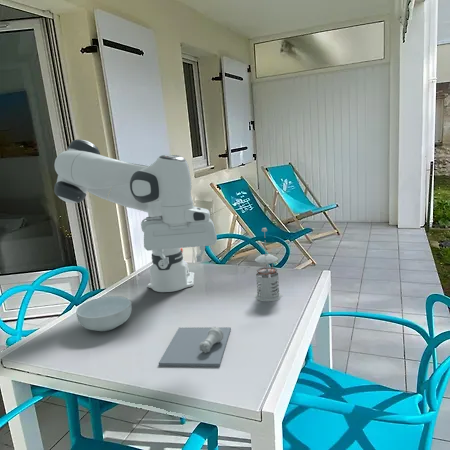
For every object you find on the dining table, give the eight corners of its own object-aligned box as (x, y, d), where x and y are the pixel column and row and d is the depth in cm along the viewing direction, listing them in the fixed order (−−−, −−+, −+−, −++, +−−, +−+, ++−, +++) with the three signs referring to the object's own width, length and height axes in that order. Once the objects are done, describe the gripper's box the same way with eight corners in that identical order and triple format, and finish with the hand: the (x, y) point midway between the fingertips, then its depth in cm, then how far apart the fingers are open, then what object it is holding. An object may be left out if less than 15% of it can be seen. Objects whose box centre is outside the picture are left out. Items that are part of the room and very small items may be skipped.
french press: (252, 300, 142) (247, 231, 137) (258, 288, 153) (254, 223, 148) (280, 302, 139) (276, 230, 134) (285, 289, 150) (281, 223, 145)
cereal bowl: (82, 343, 120) (78, 321, 119) (76, 323, 135) (73, 303, 134) (138, 329, 127) (136, 308, 126) (127, 310, 142) (125, 291, 141)
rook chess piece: (220, 343, 114) (206, 359, 107) (208, 333, 115) (193, 349, 108) (226, 332, 112) (213, 349, 105) (214, 323, 113) (199, 338, 106)
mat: (179, 329, 124) (179, 327, 124) (230, 329, 121) (230, 327, 121) (158, 365, 105) (158, 362, 105) (219, 366, 102) (219, 363, 102)
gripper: (138, 219, 108) (144, 269, 111) (214, 213, 109) (218, 262, 112) (142, 215, 115) (147, 262, 117) (214, 209, 115) (218, 256, 118)
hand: (182, 262), depth 115 cm, fingers open, 8 cm apart
